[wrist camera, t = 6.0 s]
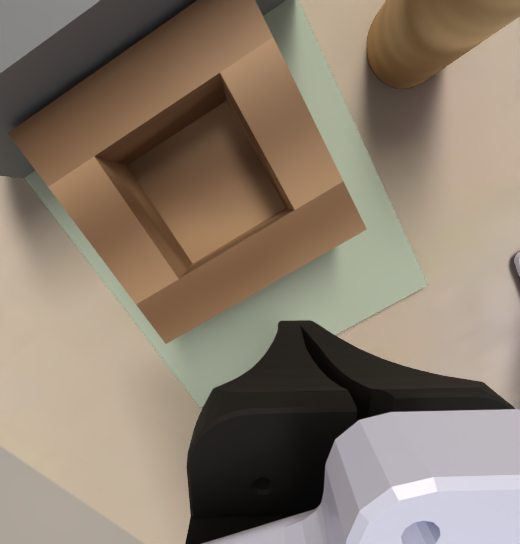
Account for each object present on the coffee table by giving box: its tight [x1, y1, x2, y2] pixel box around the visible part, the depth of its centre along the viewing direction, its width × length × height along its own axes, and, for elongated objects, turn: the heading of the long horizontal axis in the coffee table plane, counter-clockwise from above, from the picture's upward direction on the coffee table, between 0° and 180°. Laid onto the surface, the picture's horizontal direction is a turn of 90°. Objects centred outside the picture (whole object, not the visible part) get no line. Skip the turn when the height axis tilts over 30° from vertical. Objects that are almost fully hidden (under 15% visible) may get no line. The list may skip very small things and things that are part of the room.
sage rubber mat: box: [24, 0, 428, 408], centre depth 16 cm, size 19×16×1 cm
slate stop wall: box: [0, 0, 286, 178], centre depth 11 cm, size 2×16×6 cm, turn 121°
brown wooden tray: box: [8, 0, 367, 344], centre depth 13 cm, size 10×10×4 cm
